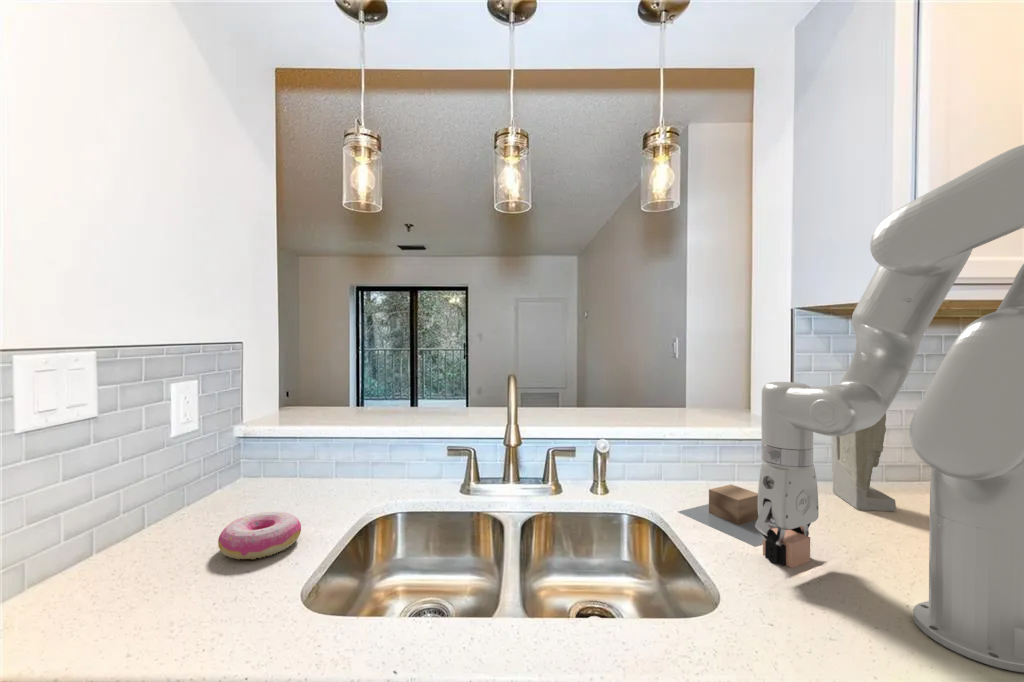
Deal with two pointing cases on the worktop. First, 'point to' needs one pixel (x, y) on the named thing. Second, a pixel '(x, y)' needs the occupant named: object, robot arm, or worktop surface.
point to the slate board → (726, 525)
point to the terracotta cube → (794, 548)
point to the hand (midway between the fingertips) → (786, 560)
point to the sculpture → (859, 468)
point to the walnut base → (733, 504)
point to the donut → (259, 535)
